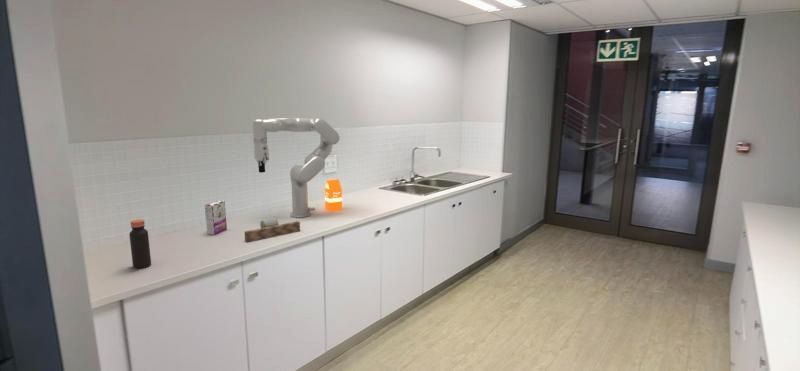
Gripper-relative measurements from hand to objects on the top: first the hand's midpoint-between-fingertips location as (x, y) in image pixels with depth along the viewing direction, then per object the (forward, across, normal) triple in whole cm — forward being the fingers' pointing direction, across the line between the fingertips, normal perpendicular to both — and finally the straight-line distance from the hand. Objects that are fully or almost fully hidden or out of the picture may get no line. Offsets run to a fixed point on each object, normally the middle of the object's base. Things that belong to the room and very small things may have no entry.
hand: (262, 172), depth 253 cm
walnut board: (+29, -32, +10) cm, 44 cm away
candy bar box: (+29, -6, +30) cm, 42 cm away
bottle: (+29, -35, +72) cm, 85 cm away
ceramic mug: (+29, -25, +8) cm, 40 cm away
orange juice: (+29, -5, -46) cm, 55 cm away
